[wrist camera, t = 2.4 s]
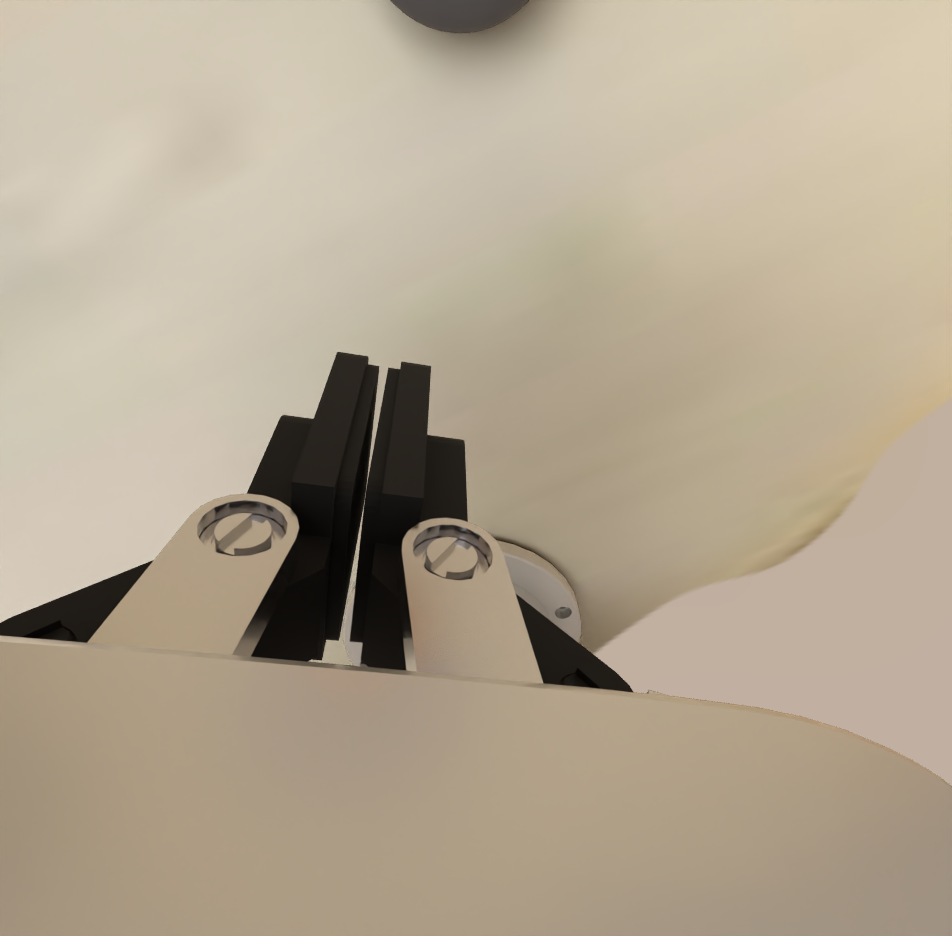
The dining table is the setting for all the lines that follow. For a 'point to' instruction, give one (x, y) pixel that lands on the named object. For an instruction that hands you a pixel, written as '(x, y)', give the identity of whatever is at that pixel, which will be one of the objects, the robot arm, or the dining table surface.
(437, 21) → the dark grey ball
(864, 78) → the dining table surface
